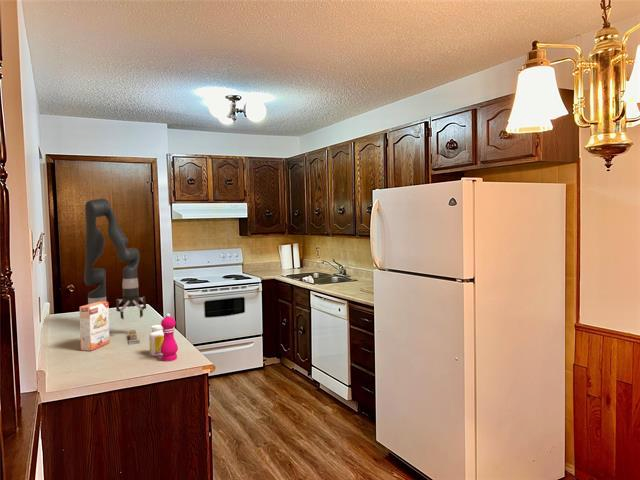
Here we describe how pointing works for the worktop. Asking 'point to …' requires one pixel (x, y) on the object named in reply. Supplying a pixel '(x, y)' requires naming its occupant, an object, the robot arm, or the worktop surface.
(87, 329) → the cracker box
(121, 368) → the worktop surface
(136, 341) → the tan flat bar
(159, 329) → the supplement bottle
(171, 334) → the pepper mill
